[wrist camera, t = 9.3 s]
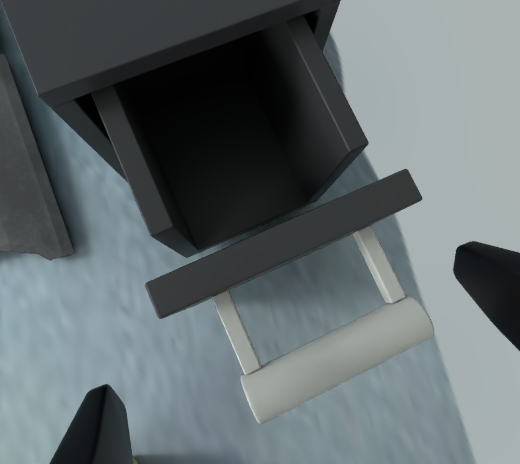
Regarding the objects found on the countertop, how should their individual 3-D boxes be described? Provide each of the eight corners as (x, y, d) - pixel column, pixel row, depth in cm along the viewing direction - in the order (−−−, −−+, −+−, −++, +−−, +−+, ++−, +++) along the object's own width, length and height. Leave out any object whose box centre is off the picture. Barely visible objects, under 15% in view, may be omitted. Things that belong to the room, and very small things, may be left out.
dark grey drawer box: (296, 124, 23) (347, -18, 12) (134, 190, 21) (36, 95, 11) (216, -42, 24) (199, -295, 14) (60, 11, 23) (-90, -224, 12)
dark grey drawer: (381, 307, 20) (488, 322, 12) (225, 383, 19) (216, 462, 10) (262, 65, 22) (279, -79, 13) (115, 121, 21) (29, 3, 12)
